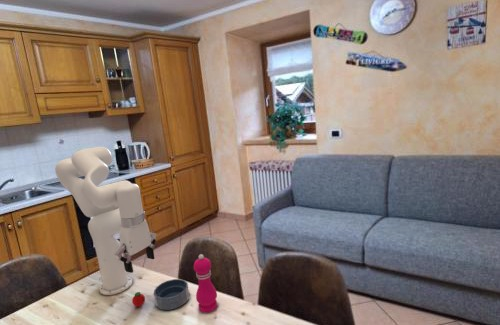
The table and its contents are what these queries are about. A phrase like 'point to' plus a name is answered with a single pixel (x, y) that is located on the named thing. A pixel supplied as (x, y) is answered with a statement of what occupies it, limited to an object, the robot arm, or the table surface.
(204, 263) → the pepper mill
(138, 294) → the strawberry
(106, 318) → the table surface
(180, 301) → the bowl
